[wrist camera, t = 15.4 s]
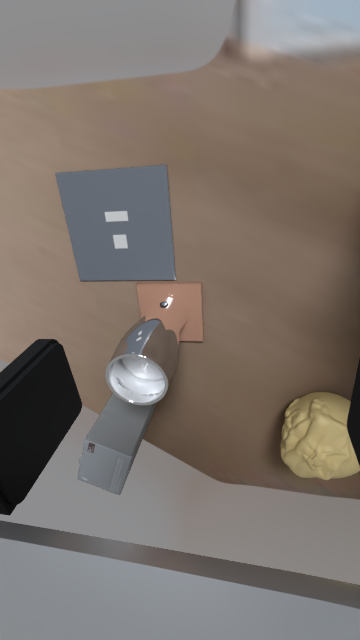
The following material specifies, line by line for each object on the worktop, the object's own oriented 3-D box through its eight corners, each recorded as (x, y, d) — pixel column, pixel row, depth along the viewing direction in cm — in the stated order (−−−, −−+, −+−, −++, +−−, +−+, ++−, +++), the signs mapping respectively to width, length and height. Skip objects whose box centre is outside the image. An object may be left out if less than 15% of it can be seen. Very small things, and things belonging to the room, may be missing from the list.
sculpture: (299, 369, 45) (316, 425, 36) (374, 397, 46) (410, 460, 36) (265, 419, 51) (271, 479, 42) (331, 444, 51) (353, 509, 42)
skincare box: (153, 413, 55) (125, 500, 41) (115, 400, 55) (74, 483, 41) (164, 378, 50) (137, 462, 37) (123, 364, 50) (80, 443, 37)
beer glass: (140, 330, 46) (103, 399, 33) (144, 287, 43) (103, 346, 29) (186, 339, 45) (166, 413, 32) (193, 296, 42) (173, 360, 29)
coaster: (201, 282, 41) (201, 284, 41) (203, 339, 46) (203, 341, 45) (137, 283, 43) (136, 284, 42) (145, 337, 47) (144, 339, 47)
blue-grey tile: (166, 164, 35) (166, 164, 35) (175, 279, 42) (175, 279, 42) (56, 173, 38) (55, 173, 38) (80, 280, 44) (80, 280, 44)
